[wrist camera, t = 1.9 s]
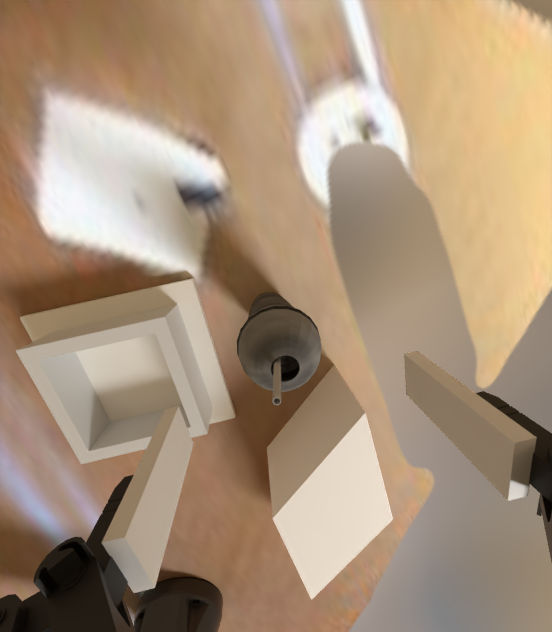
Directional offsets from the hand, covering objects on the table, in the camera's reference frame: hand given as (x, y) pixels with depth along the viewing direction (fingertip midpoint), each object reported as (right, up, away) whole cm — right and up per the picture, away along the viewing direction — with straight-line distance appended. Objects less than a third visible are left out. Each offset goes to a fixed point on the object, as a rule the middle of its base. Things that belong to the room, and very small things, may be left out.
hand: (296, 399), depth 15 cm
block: (+5, -16, +26) cm, 31 cm away
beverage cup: (-2, +6, +19) cm, 20 cm away
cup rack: (-19, -2, +19) cm, 27 cm away
